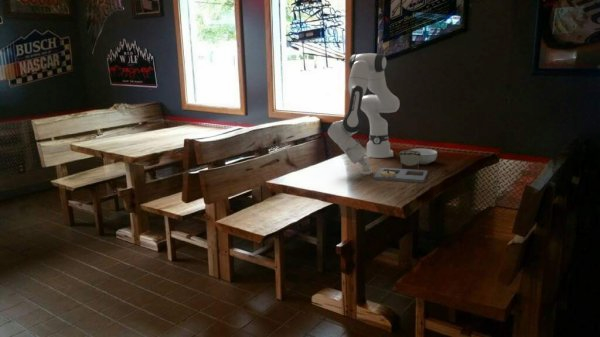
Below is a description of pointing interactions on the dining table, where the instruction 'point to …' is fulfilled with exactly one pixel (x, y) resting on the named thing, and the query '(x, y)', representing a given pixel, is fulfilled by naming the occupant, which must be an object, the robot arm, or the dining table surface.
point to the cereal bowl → (426, 155)
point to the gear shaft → (365, 169)
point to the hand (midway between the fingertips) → (366, 164)
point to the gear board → (400, 175)
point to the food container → (410, 159)
